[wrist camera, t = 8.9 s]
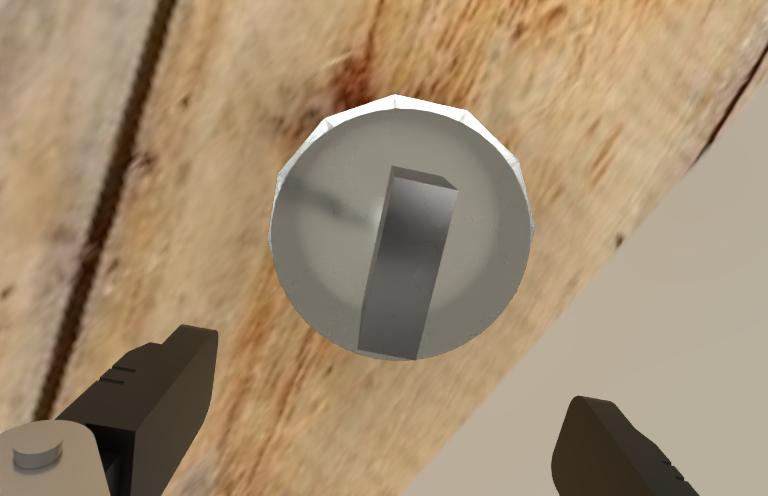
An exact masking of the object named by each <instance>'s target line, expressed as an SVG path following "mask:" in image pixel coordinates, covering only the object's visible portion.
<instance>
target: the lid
mask: <svg viewBox="0 0 768 496" xmlns="http://www.w3.org/2000/svg"><path fill="white" fill-rule="evenodd" d="M530 238H531V233H530V217H529V212H528V206H527V202H526V199H525V196H524V193H523V190H522V187H521V185H520V183H519V181H518V179H517V177H516V175H515V173H514V171H513V169H512V168H511V166H510V165H509V163H508V162H507V160H506V159H505V158H504V156H503V155H502V154H501V153H500V152H499V151H498V150H497V149H496V148H495V146H494V145H493V144H492V143H490V142H489V141H488V140H487V139H486V138H484V137H483V136H482V135H481V134H480V133H478V132H477V131H475V130H473V129H472V128H470V127H469V126H467V125H466V124H464V123H462V122H459V121H457V120H455V119H453V118H450V117H448V116H445V115H441V114H438V113H435V112H431V111H425V110H418V109H401V108H394V109H386V110H378V111H373V112H370V113H366V114H362V115H359V116H356V117H354V118H351V119H349V120H347V121H344V122H342V123H340V124H339V125H337V126H335V127H334V128H332V129H330V130H328V131H327V132H325V133H324V134H323V135H322V136H320V137H319V138H318V139H317V140H315V141H314V142H313V143H312V144H311V145H310V146H309V147H308V148H307V149H306V150H305V151H304V152H303V153H302V154H301V155H300V157H299V158H298V159H297V161H296V162H295V163H294V165H293V166H292V168H291V169H290V171H289V173H288V174H287V176H286V178H285V180H284V182H283V184H282V186H281V189H280V191H279V194H278V197H277V199H276V203H275V208H274V212H273V216H272V227H271V245H272V254H273V259H274V265H275V268H276V272H277V275H278V278H279V281H280V283H281V285H282V287H283V289H284V291H285V293H286V296H287V297H288V299H289V300H290V302H291V303H292V305H293V306H294V308H295V309H296V311H297V312H298V313H299V314H300V315H301V317H302V318H303V319H304V320H305V321H306V322H307V323H308V324H309V325H310V326H311V327H312V328H313V329H314V330H316V331H317V332H318V333H319V334H321V335H322V336H323V337H325V338H326V339H328V340H329V341H331V342H332V343H334V344H336V345H338V346H340V347H342V348H344V349H346V350H349V351H351V352H354V353H356V354H359V355H363V356H367V357H371V358H375V359H382V360H390V361H408V360H415V361H416V360H417V359H424V358H428V357H433V356H437V355H440V354H443V353H445V352H448V351H451V350H453V349H455V348H457V347H459V346H461V345H463V344H465V343H467V342H469V341H470V340H472V339H473V338H475V337H476V336H478V335H479V334H480V333H482V332H483V331H484V330H485V329H486V328H487V327H489V326H490V325H491V324H492V323H493V322H494V321H495V320H496V319H497V318H498V316H499V315H500V314H501V313H502V312H503V311H504V309H505V308H506V307H507V305H508V304H509V302H510V301H511V299H512V298H513V296H514V294H515V292H516V290H517V288H518V286H519V285H520V282H521V279H522V277H523V274H524V271H525V269H526V264H527V260H528V255H529V249H530Z"/></svg>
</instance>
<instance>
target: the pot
mask: <svg viewBox="0 0 768 496" xmlns="http://www.w3.org/2000/svg"><path fill="white" fill-rule="evenodd" d="M394 108H401V109H418V110H425V111H431V112H435V113H438V114H441V115H445V116H448V117H450V118H453V119H455V120H457V121H459V122H462V123H464V124H466V125H467V126H469V127H470V128H472V129H473V130H475V131H477V132H478V133H480V134H481V135H482V136H483V137H484V138H486V139H487V140H488V141H489V142H490V143H492V144H493V145H494V146H495V148H496V149H497V150H498V151H499V152H500V153H501V154H502V155H503V156H504V158H505V159H506V160H507V162H508V163H509V165H510V166H511V168H512V169H513V171H514V173H515V175H516V177H517V179H518V181H519V183H520V185H521V187H522V190H523V193H524V196H525V199H526V202H527V206H528V212H529V217H530V233H531V238H530V244H531V241H532V237H533V234H534V231H535V224H534V220H533V216H532V212H531V208H530V204H529V200H528V197H527V193H526V189H525V185H524V181H523V177H522V173H521V169H520V165H519V161H518V160H517V159H516V158H515V157H514V156H513V155H512V154H511V153H510V152H509V151H508V150H507V149H506V148H505V147H504V146H503V145H502V144H501V143H500V142H499V141H498V140H497V139H496V138H495V137H494V136H493V135H492V134H491V133H490V132H489V131H488V130H486V129H485V128H484V127H483V126H482V125H481V124H480V123H479V122H478V121H477V120H476V119H475V118H474V117H473V116H472V115H471V114H470V113H469V112H468V111H467V110H462V109H458V108H453V107H449V106H444V105H440V104H435V103H431V102H426V101H422V100H417V99H413V98H409V97H404V96H400V95H392V96H389V97H386V98H383V99H380V100H377V101H374V102H371V103H368V104H365V105H362V106H359V107H356V108H353V109H350V110H348V111H345V112H342V113H339V114H336V115H333V116H330V117H327V118H324V120H323V121H322V122H321V123H320V124H319V125H318V127H317V128H316V129H315V130H314V131H313V133H312V134H311V135H310V136H309V137H308V139H307V140H306V141H305V142H304V143H303V144H302V146H301V147H300V148H299V149H298V150H297V152H296V153H295V154H294V155H293V156H292V158H291V159H290V160H289V161H288V162H287V164H286V165H285V166H284V167H283V168H282V169H281V171H280V172H279V173H278V177H277V184H276V190H275V197H274V203H273V209H272V216H273V212H274V208H275V203H276V199H277V197H278V194H279V191H280V189H281V186H282V184H283V182H284V180H285V178H286V176H287V174H288V173H289V171H290V169H291V168H292V166H293V165H294V163H295V162H296V161H297V159H298V158H299V157H300V155H301V154H302V153H303V152H304V151H305V150H306V149H307V148H308V147H309V146H310V145H311V144H312V143H313V142H314V141H315V140H317V139H318V138H319V137H320V136H322V135H323V134H324V133H325V132H327V131H328V130H330V129H332V128H334V127H335V126H337V125H339V124H340V123H342V122H344V121H347V120H349V119H351V118H354V117H356V116H359V115H362V114H366V113H370V112H373V111H378V110H386V109H394ZM272 216H271V222H270V228H269V235H268V241H267V242H268V244H269V247H270V249H271V252H272V245H271V227H272ZM516 291H517V290H516ZM515 293H516V292H515Z"/></svg>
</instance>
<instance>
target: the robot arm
mask: <svg viewBox="0 0 768 496" xmlns="http://www.w3.org/2000/svg"><path fill="white" fill-rule="evenodd" d="M217 348H218V332H217V330H211V329H206V328H200V327H194V326H189V325H180V326H179V327H178V328H177V329H176V330H175V331H174V332H173V333H172V334H171V335H170V336H169V337H168V338H167V339H166V341H165V342H164V343H163V344H157V343H151V342H150V343H147V344H145V345H143V346H141V347H138V348H136V349H134V350H131V351H129V352H127V353H126V354H125V355H124V356H123V357H122V358H121V359H120V360H118V361H117V362H116V363H115V364H114V365H113V367H112V369H109V370H108V371H107V372H105V373H104V374H103V375H102V376H101V377H100V380H99V381H96V382H95V383H93V384H92V385H91V386H90V387H89V388H88V389H87V390H86V391H85V392H84V393H83V394H82V395H80V396H79V397H78V398H77V399H76V400H75V401H74V402H73V403H72V404H71V405H70V406H69V407H67V408H66V409H65V410H64V411H63V412H62V413H61V414H60V415H59V416H58V417H57V418H56V419H54V420H44V421H37V422H32V423H27V424H24V425H20V426H17V427H14V428H12V429H10V430H7V431H5V432H3V433H1V434H0V496H161V495H162V493H163V491H164V490H165V488H166V486H167V485H168V483H169V481H170V479H171V478H172V476H173V474H174V473H175V471H176V469H177V467H178V466H179V464H180V462H181V460H182V459H183V457H184V455H185V454H186V452H187V450H188V448H189V447H190V445H191V443H192V442H193V440H194V438H195V436H196V435H197V433H198V431H199V429H200V428H201V426H202V424H203V422H204V420H205V417H206V415H207V412H208V409H209V405H210V401H211V396H212V388H213V380H214V372H215V364H216V356H217ZM551 470H552V477H553V481H554V484H555V487H556V489H557V491H558V493H559V495H560V496H699V495H698V493H697V492H696V491H695V490H694V489H693V488H692V486H691V485H690V484H689V483H688V482H686V481H684V477H683V476H682V475H681V473H680V472H679V471H678V470H677V469H676V468H675V466H671V462H670V461H669V459H668V458H667V457H666V456H665V455H664V453H663V452H662V451H661V450H660V449H659V448H658V446H657V445H656V444H654V443H653V442H652V441H650V440H649V439H648V438H647V437H645V436H644V435H643V434H641V433H640V432H639V431H638V430H636V429H635V428H634V427H633V426H632V424H631V423H630V422H629V421H628V419H627V418H626V417H625V416H624V415H623V414H622V412H621V411H620V410H619V409H618V407H617V406H616V405H615V404H614V403H612V402H611V401H606V400H600V399H594V398H589V397H584V396H576V397H574V398H573V399H572V401H571V403H570V405H569V407H568V410H567V413H566V416H565V419H564V422H563V425H562V428H561V431H560V434H559V437H558V440H557V443H556V446H555V449H554V452H553V456H552V463H551Z"/></svg>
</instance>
